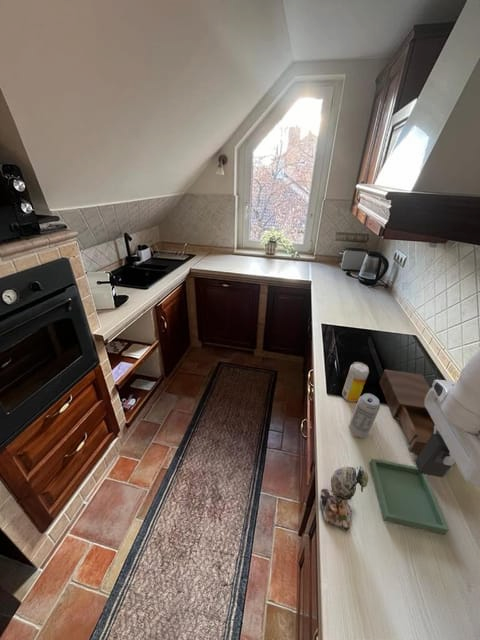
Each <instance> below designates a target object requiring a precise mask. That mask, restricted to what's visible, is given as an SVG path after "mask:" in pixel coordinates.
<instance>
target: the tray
mask: <svg viewBox="0 0 480 640" xmlns="http://www.w3.org/2000/svg"><path fill="white" fill-rule="evenodd" d="M369 468H370V471H371V476H372V480H373V483H374V488H375V492H376V497H377V501H378V504H379V509H380V513H381V518H382V520H383V521H382V522H387V523H391V524H396V525H400V526H404V527H409V528H414V529H417V530H423V531H425V532H426V531H427V532H431V533H435V532H436V533H435V534H439V533H440V534H439V535H446V533H447V532H448V531H449V528H448V525H447V522H446V521H445V517H444V516H443V513H442V510H441V508H440V505H439V504H438V501H437V499H436V496H435V494H434V492H433V489H432V487H431V485H430V482H429V480H428V477H427V474H422V473H419V471H418V468H417V466H414V465H408V464H405V463H404V464H402V463H398V462H393V461H388V460H383V459H378V458H370V461H369Z"/></svg>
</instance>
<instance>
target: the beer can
mask: <svg viewBox="0 0 480 640" xmlns="http://www.w3.org/2000/svg"><path fill="white" fill-rule="evenodd" d="M369 373H370V370H369V366H368V364H365V363H364V362H361V361H354V362H353V363H352V364H351V365H350V367H349V370H348V372H347V376H346V379H345V383H344V386H343V389H342V391H341V395H342V397H343V398H344V400H346V401H347V402H349V403H355V402H358V400H359V398H360V397H361V396H362V395H361V394H362V392H363V389H364V386H365V384H366V382H367V379H368V376H369Z"/></svg>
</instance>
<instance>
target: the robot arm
mask: <svg viewBox="0 0 480 640" xmlns="http://www.w3.org/2000/svg"><path fill="white" fill-rule="evenodd" d="M430 388H431V389H430V390H429V392H428V393H427V395H426V397H425V400H424V404H425V407H426V409H427V411H428V413H429V414H430V416H431V418H432V420H433V422H434V424H435V426H434V434H439V435H441V437H442V438H443V440H444V442H445V444H446V446H447V448H448V449H449V451H450V453H449V455H448V454H443V455H442V456H441V459H442V461H443V463H444V464H445V465H450V466H451V465H453V464H454V463H455V462H456V466H457V468H458V470H459V472H460V473H461V476H462V477H463V479H464V481H465V482H466V483H469V484H470V485H474V486H478V487H480V347H479V348H478V349H477V350H476V351H475V352H474V353H473V355H472V356H471V357H470V358H469V359H468V361H467V363H466V364H465V365H464V367H463V368H462V370H461V371H460V374H459V379H458V381H453V380H445V379H434V380H433V382H432V386H431V387H430ZM451 467H452V466H451Z"/></svg>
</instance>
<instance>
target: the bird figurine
mask: <svg viewBox="0 0 480 640" xmlns="http://www.w3.org/2000/svg"><path fill="white" fill-rule="evenodd" d="M356 469H358V472H357V470H356ZM368 483H369V475H368V472H367V470H366V468H364V467H363V466H362V465H360V466H359V467H358V466H356V468H355V467H353V466H343V467H340V468H337V469H336V470H335V471H334V472H333V473H332V475H331V477H330V487H331V489H328V488H322V489H321V491H320V497H319V503H320V505H321V507H322V508H321V511H322V512H323V513H322V516H323V520H324V522H326V523H327V524H330V525H331V526H333V525H334V526H337V527H338V528H340V529H343V530H344V531H345V532H347V531H349V530H350V522H351V518H352V515H353V514H352V511H353V510H352V508H351V506H350V504H349V502H348V501H350V500H352V498H353V497H354V496H355V494H356V491H357V485H360V492H361V493H364V488H366V487H368V486H367V485H368Z"/></svg>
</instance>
